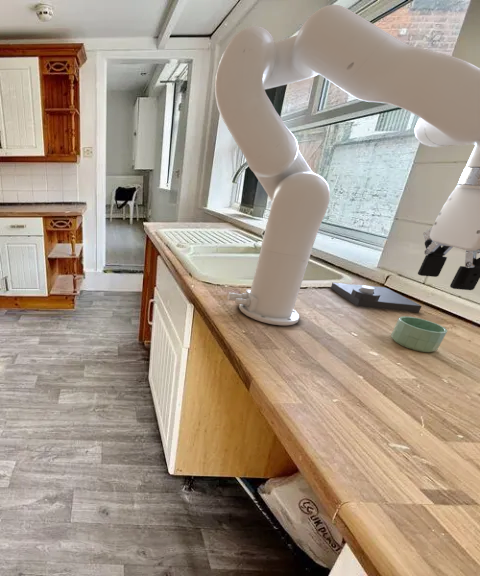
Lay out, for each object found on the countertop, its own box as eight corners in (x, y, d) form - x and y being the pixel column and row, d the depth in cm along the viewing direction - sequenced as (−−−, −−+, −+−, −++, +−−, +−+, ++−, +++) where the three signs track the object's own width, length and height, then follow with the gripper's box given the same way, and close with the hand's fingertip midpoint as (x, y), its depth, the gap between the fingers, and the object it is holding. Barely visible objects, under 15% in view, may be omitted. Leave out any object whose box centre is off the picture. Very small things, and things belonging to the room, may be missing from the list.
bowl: (406, 351, 59) (416, 330, 58) (382, 333, 66) (390, 314, 64) (446, 355, 58) (458, 334, 57) (418, 337, 65) (427, 318, 63)
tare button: (363, 294, 79) (365, 288, 78) (357, 290, 81) (359, 284, 80) (374, 295, 78) (377, 289, 78) (368, 291, 81) (370, 285, 80)
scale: (356, 306, 79) (361, 294, 77) (329, 288, 91) (333, 277, 90) (419, 313, 77) (425, 300, 75) (383, 293, 89) (387, 282, 87)
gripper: (590, 184, 42) (517, 303, 48) (470, 179, 58) (428, 269, 64) (525, 181, 43) (462, 297, 50) (424, 177, 59) (387, 266, 65)
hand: (443, 281), depth 57 cm, fingers open, 6 cm apart
